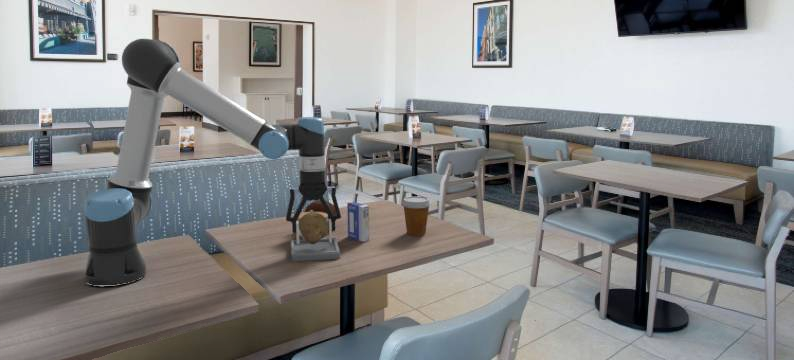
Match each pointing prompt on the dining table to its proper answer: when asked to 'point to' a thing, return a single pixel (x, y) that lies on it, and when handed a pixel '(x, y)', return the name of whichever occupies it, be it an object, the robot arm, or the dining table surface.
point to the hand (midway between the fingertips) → (314, 241)
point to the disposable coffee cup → (416, 214)
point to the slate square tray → (315, 250)
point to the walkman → (358, 221)
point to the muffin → (320, 207)
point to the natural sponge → (313, 227)
